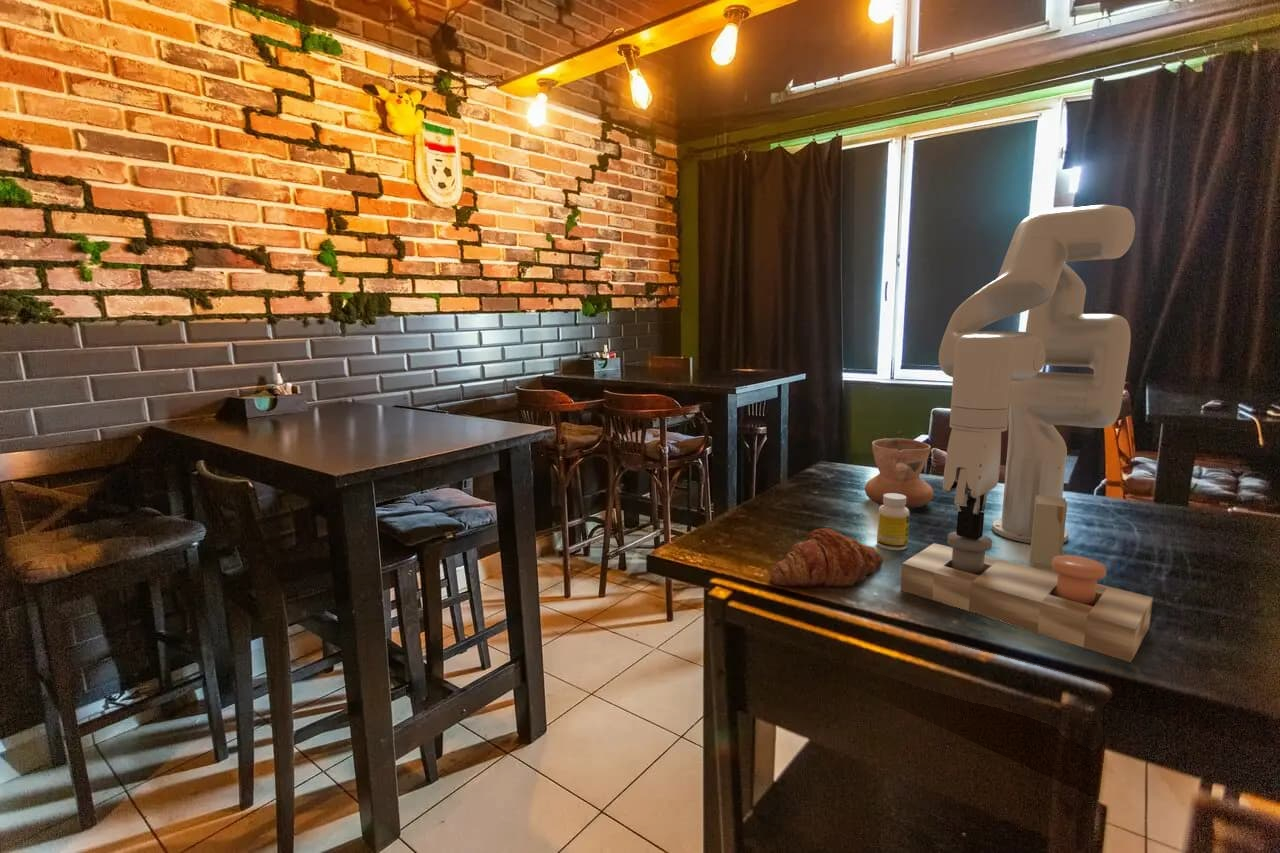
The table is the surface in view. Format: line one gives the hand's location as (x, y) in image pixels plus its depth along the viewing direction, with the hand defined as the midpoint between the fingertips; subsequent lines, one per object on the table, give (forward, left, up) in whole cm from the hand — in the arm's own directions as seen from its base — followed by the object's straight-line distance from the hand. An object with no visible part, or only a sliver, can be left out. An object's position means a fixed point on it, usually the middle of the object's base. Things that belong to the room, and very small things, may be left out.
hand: (969, 536), depth 94 cm
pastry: (+8, -19, -10) cm, 23 cm away
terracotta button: (0, +14, -6) cm, 15 cm away
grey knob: (0, 0, -6) cm, 6 cm away
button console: (0, +7, -9) cm, 12 cm away
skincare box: (-18, +6, -10) cm, 22 cm away
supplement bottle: (-11, -17, -10) cm, 23 cm away
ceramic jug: (-37, -28, -10) cm, 48 cm away
